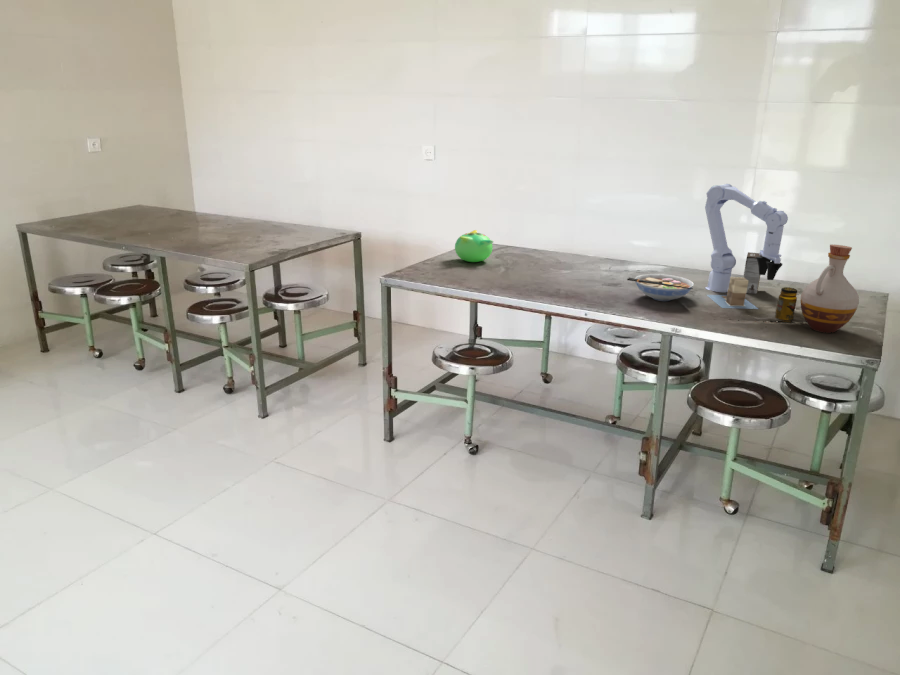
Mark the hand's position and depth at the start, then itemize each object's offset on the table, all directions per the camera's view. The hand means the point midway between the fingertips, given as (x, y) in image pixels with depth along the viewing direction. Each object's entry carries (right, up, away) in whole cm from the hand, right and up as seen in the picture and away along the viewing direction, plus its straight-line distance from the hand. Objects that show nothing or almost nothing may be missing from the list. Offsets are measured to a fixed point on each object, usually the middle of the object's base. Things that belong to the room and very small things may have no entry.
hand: (766, 277), depth 265 cm
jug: (+7, -21, -27) cm, 35 cm away
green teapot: (-113, +13, +60) cm, 128 cm away
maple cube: (-13, -6, -4) cm, 15 cm away
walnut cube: (-13, -10, -2) cm, 17 cm away
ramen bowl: (-39, -8, +6) cm, 40 cm away
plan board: (-13, -10, +1) cm, 17 cm away
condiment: (-3, -17, -17) cm, 25 cm away
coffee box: (+1, -5, +18) cm, 18 cm away
